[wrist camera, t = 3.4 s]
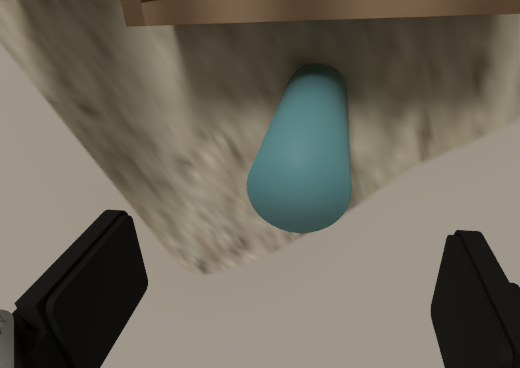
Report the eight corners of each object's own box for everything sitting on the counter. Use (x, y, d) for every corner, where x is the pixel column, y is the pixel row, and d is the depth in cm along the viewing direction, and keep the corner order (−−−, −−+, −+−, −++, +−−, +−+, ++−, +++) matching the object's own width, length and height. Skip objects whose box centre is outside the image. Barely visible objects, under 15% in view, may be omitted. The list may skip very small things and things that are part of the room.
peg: (348, 63, 23) (354, 144, 13) (345, 123, 25) (347, 236, 14) (285, 63, 23) (243, 141, 13) (286, 122, 25) (250, 229, 15)
